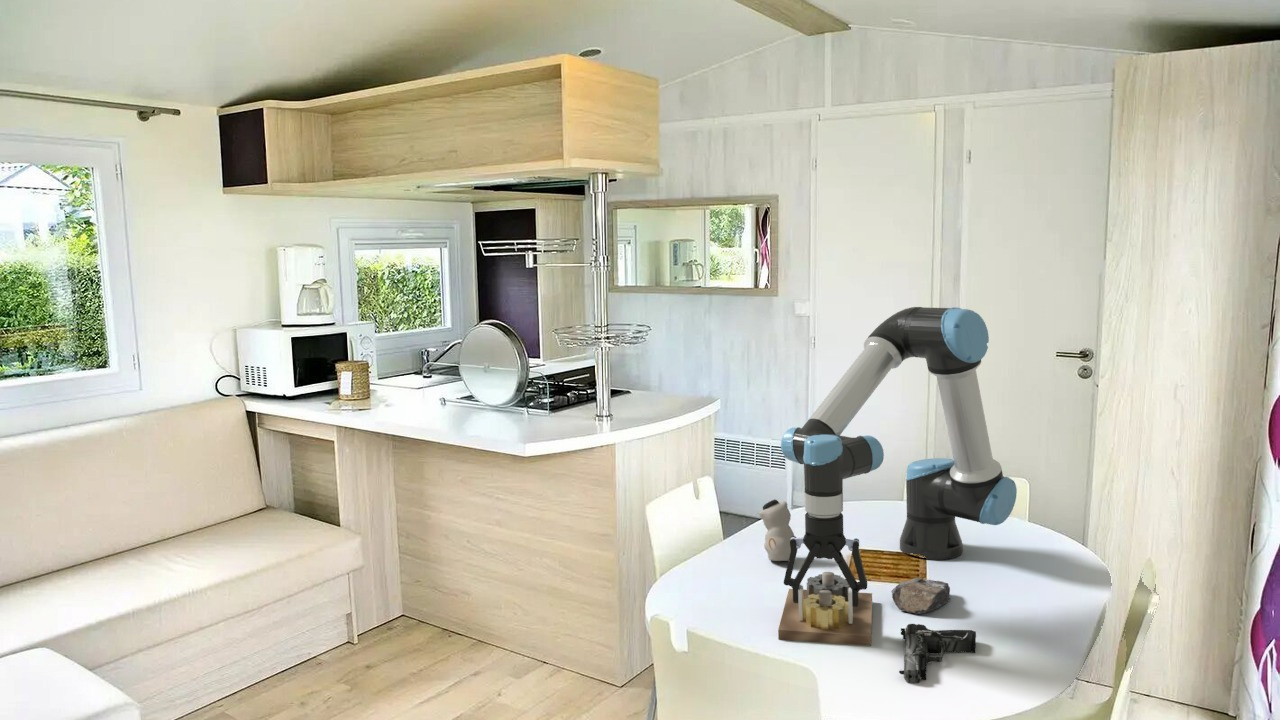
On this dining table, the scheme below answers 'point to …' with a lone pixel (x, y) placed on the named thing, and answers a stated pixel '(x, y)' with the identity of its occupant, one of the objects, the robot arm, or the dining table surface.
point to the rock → (920, 595)
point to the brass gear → (825, 612)
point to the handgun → (931, 648)
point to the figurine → (777, 530)
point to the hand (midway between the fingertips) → (825, 619)
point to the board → (848, 635)
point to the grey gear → (837, 589)
